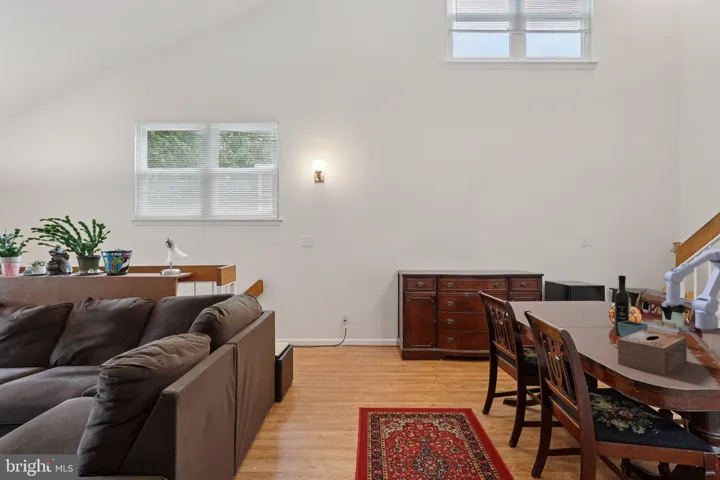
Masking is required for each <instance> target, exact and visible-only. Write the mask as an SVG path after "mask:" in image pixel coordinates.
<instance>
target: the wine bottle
mask: <svg viewBox="0 0 720 480" xmlns="http://www.w3.org/2000/svg"><path fill="white" fill-rule="evenodd" d="M623 321H630V294H629V292H628V291H627V290H626V276H625V275H618V289H617V291H616V292H615V295H614V335H616V336H620V333H619V329H618V322H623Z"/></svg>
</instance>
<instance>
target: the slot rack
mask: <svg viewBox="0 0 720 480" xmlns="http://www.w3.org/2000/svg"><path fill="white" fill-rule="evenodd" d="M645 324H648V327H649V328H654V329H657V330H663V331H667V332H671V333H682V332H683V333H684V332H693V331H694V329H693V327H691V326H687V325H685V327H682V326H677V325H676V328H672V327H667V326H662V325H657V324H653V321H649V322H647V321H645ZM648 327H647V328H648Z"/></svg>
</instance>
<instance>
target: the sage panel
mask: <svg viewBox="0 0 720 480" xmlns="http://www.w3.org/2000/svg"><path fill="white" fill-rule="evenodd" d="M661 312H662V313H661V315H662V318H661V319H662V320H661V321H664V322H671V323H676V325H677V326H682V327H685V326H686V324H685V322H686V320H685V319H686V318H685V313H682V314H681V313H675V312H674V311H672V316H671V320H666V319H665V315H664V312H663V310H662V311H661Z"/></svg>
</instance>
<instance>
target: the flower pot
mask: <svg viewBox="0 0 720 480" xmlns="http://www.w3.org/2000/svg"><path fill="white" fill-rule="evenodd" d="M618 329H619V333H620V335H619V336H620V337H621V338H623V337H625V336H628V335H630V334H633V333H636V332H638V331H641V330H648V324H646V323H642V322H637V321H631V320H629V321H623V322H618Z"/></svg>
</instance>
